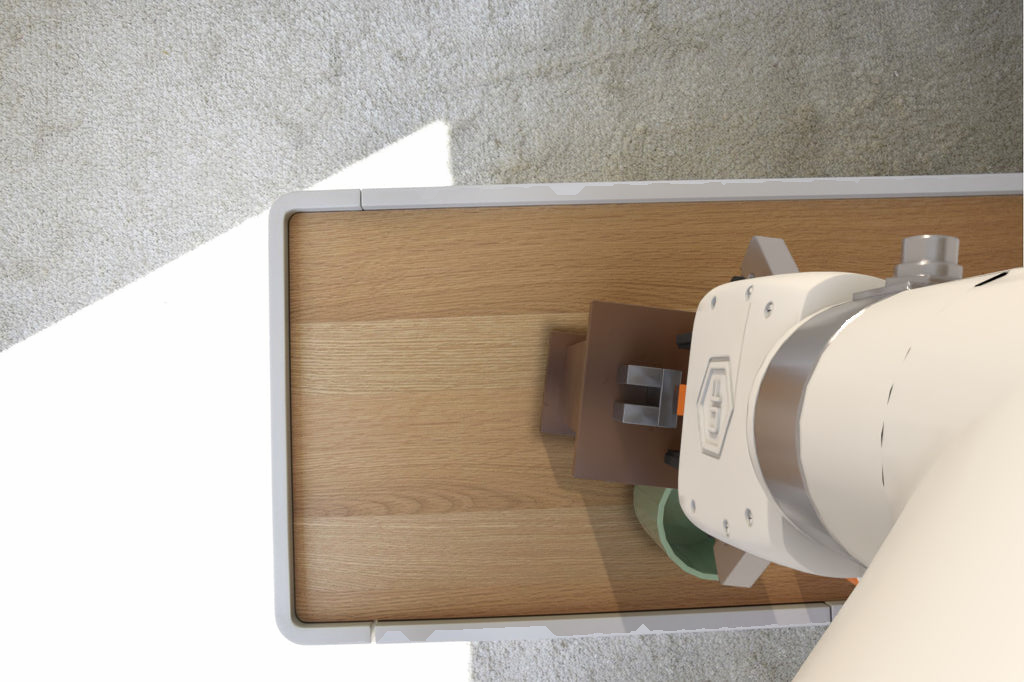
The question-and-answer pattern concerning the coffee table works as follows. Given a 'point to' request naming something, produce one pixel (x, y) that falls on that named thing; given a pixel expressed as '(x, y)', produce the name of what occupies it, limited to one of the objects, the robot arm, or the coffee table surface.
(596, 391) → the stand
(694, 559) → the green cup
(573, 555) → the coffee table surface
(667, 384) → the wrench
